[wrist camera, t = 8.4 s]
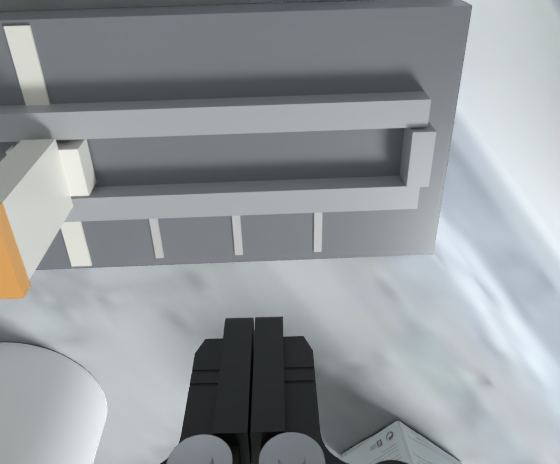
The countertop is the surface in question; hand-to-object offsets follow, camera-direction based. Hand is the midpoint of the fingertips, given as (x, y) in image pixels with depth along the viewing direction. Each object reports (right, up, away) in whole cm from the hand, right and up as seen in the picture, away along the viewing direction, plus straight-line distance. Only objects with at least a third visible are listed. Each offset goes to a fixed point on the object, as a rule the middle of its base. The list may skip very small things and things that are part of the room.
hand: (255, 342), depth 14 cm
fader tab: (-9, +6, +10) cm, 15 cm away
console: (-4, +7, +12) cm, 14 cm away
